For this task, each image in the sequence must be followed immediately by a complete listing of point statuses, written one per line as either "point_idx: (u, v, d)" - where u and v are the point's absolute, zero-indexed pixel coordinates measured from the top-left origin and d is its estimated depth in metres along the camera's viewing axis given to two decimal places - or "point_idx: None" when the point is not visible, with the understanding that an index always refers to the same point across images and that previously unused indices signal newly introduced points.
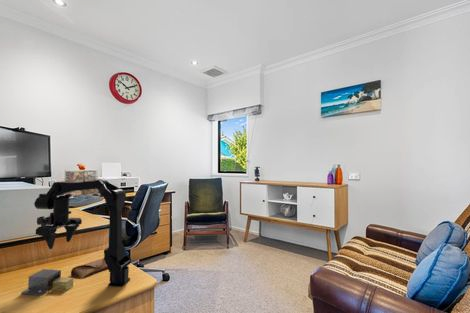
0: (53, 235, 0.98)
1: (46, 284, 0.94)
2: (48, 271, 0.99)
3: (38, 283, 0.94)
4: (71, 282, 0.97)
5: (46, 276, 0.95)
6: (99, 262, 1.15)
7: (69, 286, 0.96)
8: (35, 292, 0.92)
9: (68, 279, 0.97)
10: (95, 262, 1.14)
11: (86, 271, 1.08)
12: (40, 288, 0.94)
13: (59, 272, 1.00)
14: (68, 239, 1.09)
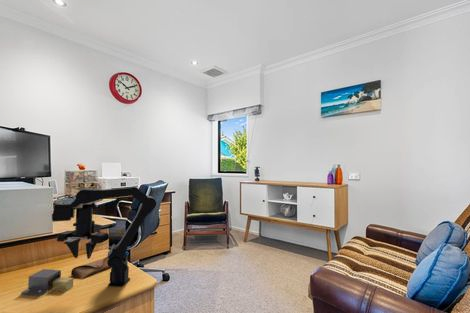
0: (67, 244, 0.94)
1: (46, 284, 0.94)
2: (48, 271, 0.99)
3: (38, 283, 0.94)
4: (71, 282, 0.97)
5: (46, 276, 0.95)
6: (99, 262, 1.15)
7: (69, 286, 0.96)
8: (35, 292, 0.92)
9: (68, 279, 0.97)
10: (95, 262, 1.14)
11: (86, 271, 1.08)
12: (40, 288, 0.94)
13: (59, 272, 1.00)
14: None
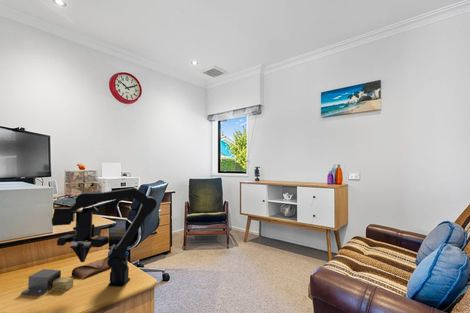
0: (73, 248, 0.94)
1: (46, 284, 0.94)
2: (48, 271, 0.99)
3: (38, 283, 0.94)
4: (71, 282, 0.97)
5: (46, 276, 0.95)
6: (100, 262, 1.14)
7: (69, 286, 0.96)
8: (35, 292, 0.92)
9: (68, 279, 0.97)
10: (96, 262, 1.14)
11: (87, 271, 1.08)
12: (40, 288, 0.94)
13: (59, 272, 1.00)
14: None
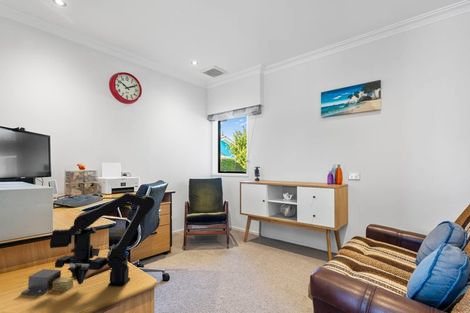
0: (71, 270, 0.94)
1: (46, 284, 0.94)
2: (48, 271, 0.99)
3: (38, 283, 0.94)
4: (71, 282, 0.97)
5: (46, 276, 0.95)
6: None
7: (69, 286, 0.96)
8: (35, 292, 0.92)
9: (68, 279, 0.97)
10: None
11: (87, 272, 1.07)
12: (40, 288, 0.94)
13: (59, 272, 1.00)
14: None
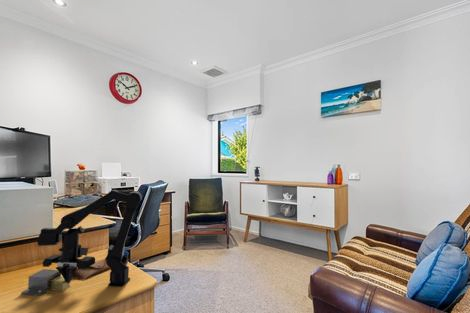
0: (58, 269, 0.94)
1: (46, 284, 0.94)
2: (48, 271, 0.99)
3: (38, 283, 0.94)
4: None
5: (46, 276, 0.95)
6: (100, 262, 1.14)
7: (65, 286, 0.96)
8: (35, 292, 0.92)
9: None
10: (96, 263, 1.13)
11: (88, 272, 1.07)
12: (40, 288, 0.94)
13: (59, 272, 1.00)
14: None
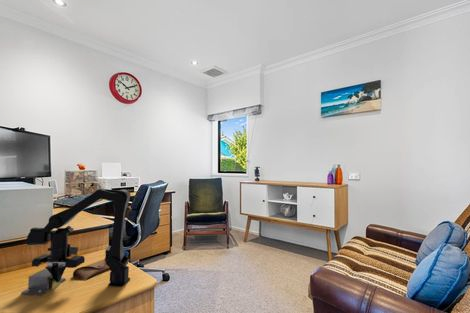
0: (48, 269, 0.95)
1: (46, 284, 0.94)
2: (48, 271, 0.99)
3: (38, 283, 0.94)
4: None
5: (46, 276, 0.95)
6: (101, 263, 1.14)
7: (55, 285, 0.97)
8: (35, 292, 0.92)
9: None
10: (97, 263, 1.13)
11: (89, 272, 1.07)
12: (40, 288, 0.94)
13: None
14: None
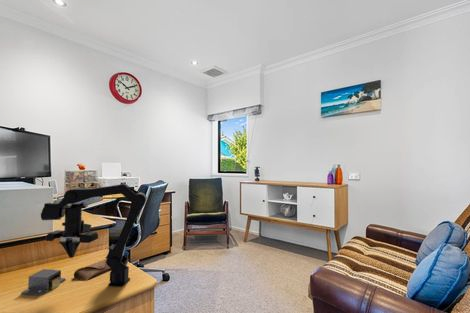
0: (61, 243, 0.95)
1: (46, 284, 0.94)
2: (48, 271, 0.99)
3: (38, 283, 0.94)
4: (58, 281, 0.98)
5: (46, 276, 0.95)
6: (102, 263, 1.13)
7: (55, 285, 0.97)
8: (35, 292, 0.92)
9: (54, 278, 0.98)
10: (98, 263, 1.12)
11: (90, 273, 1.06)
12: (40, 288, 0.94)
13: (59, 272, 1.00)
14: None
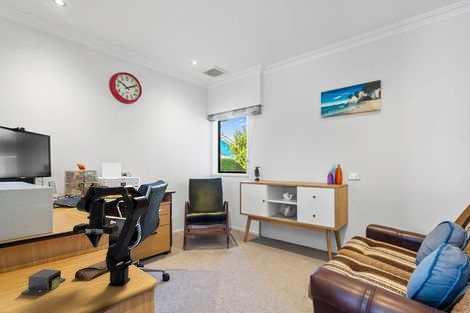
0: (87, 235, 1.06)
1: (46, 284, 0.94)
2: (48, 271, 0.99)
3: (38, 283, 0.94)
4: (58, 281, 0.98)
5: (46, 276, 0.95)
6: (102, 263, 1.13)
7: (55, 285, 0.97)
8: (35, 292, 0.92)
9: (54, 278, 0.98)
10: (99, 264, 1.12)
11: (91, 273, 1.06)
12: (40, 288, 0.94)
13: (59, 272, 1.00)
14: None
